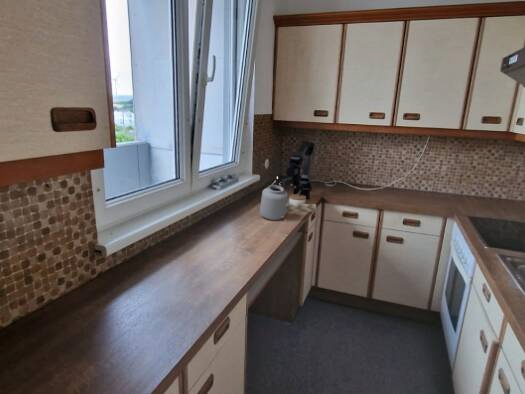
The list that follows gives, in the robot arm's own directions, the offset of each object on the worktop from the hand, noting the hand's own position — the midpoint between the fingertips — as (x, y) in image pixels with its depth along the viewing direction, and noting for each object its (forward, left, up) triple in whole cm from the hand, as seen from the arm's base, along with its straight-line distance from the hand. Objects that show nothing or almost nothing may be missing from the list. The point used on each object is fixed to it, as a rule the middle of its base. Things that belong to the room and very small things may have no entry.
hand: (294, 197), depth 232 cm
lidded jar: (0, +7, -5) cm, 9 cm away
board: (0, +14, -5) cm, 15 cm away
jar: (+19, +27, -5) cm, 34 cm away
